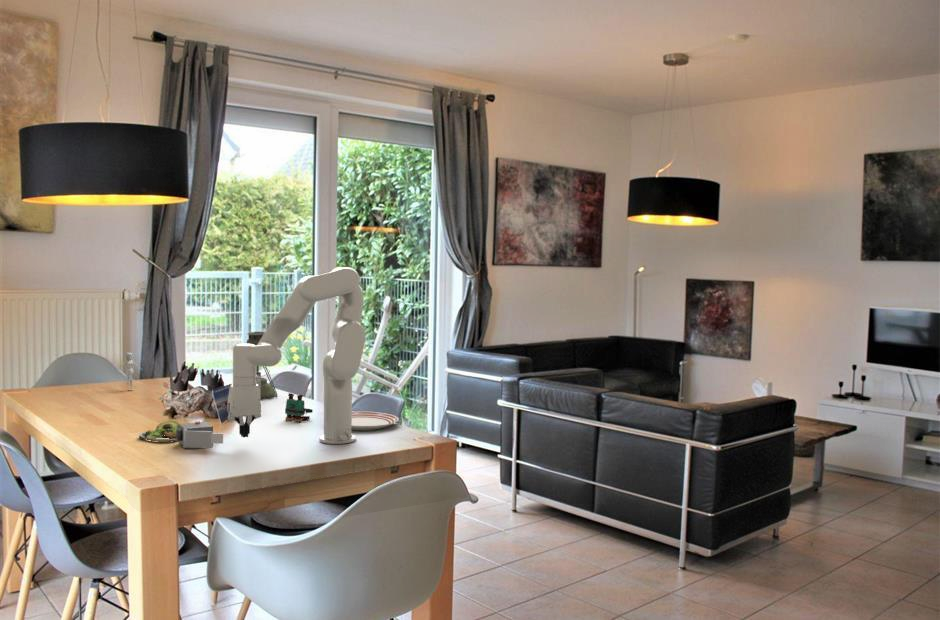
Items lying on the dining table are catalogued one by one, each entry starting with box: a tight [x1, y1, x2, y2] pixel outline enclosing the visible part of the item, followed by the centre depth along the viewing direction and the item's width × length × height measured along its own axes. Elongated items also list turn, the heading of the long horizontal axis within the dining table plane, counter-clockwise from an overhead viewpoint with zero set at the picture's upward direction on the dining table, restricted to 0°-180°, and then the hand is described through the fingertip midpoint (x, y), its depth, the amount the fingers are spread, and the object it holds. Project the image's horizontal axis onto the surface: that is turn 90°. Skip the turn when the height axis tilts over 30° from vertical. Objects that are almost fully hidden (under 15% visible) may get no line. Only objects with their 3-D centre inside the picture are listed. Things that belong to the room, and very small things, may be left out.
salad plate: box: [138, 420, 180, 443], centre depth 266 cm, size 19×18×5 cm
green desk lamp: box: [245, 331, 278, 401], centre depth 351 cm, size 21×18×30 cm
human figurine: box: [115, 352, 143, 389], centre depth 362 cm, size 12×4×18 cm, turn 134°
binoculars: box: [284, 392, 314, 423], centre depth 301 cm, size 9×11×10 cm
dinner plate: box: [352, 411, 400, 431], centre depth 292 cm, size 27×27×3 cm
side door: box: [183, 429, 224, 449], centre depth 249 cm, size 1×13×6 cm, turn 85°
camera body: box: [176, 421, 214, 449], centre depth 256 cm, size 9×10×7 cm
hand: (244, 436), depth 253 cm, fingers closed
